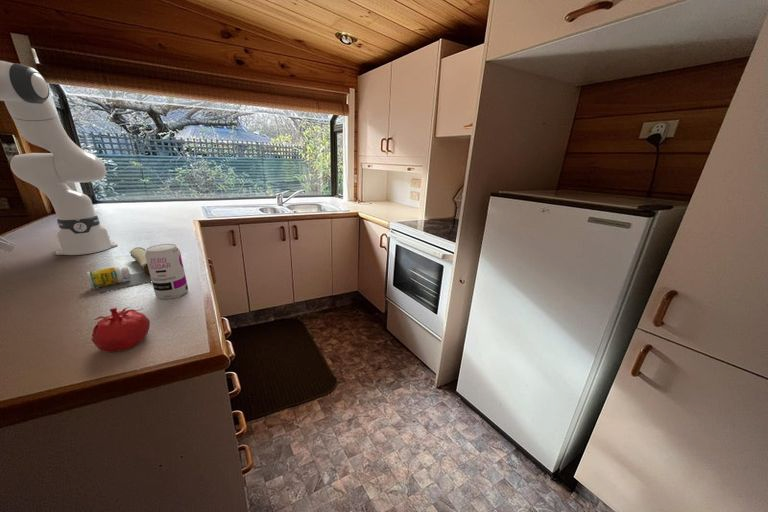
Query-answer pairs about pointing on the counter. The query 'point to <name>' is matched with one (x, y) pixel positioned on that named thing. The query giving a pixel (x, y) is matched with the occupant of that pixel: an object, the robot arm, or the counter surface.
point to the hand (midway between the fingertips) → (13, 248)
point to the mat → (127, 282)
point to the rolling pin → (140, 258)
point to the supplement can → (166, 271)
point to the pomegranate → (120, 330)
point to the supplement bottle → (107, 276)
